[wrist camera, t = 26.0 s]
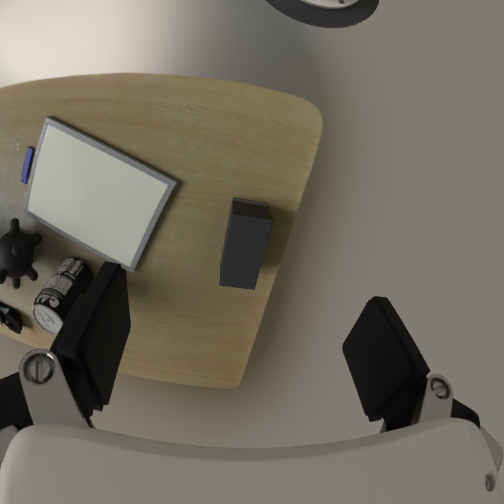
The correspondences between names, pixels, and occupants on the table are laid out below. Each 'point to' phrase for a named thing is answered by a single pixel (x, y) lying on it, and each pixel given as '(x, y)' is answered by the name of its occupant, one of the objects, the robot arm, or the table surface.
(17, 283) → the toy ball
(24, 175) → the blue rectangular bar
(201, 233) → the table surface
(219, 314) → the table surface
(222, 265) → the whiteboard eraser
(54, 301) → the beverage can
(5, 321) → the toy car
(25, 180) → the blue bar
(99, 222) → the whiteboard
